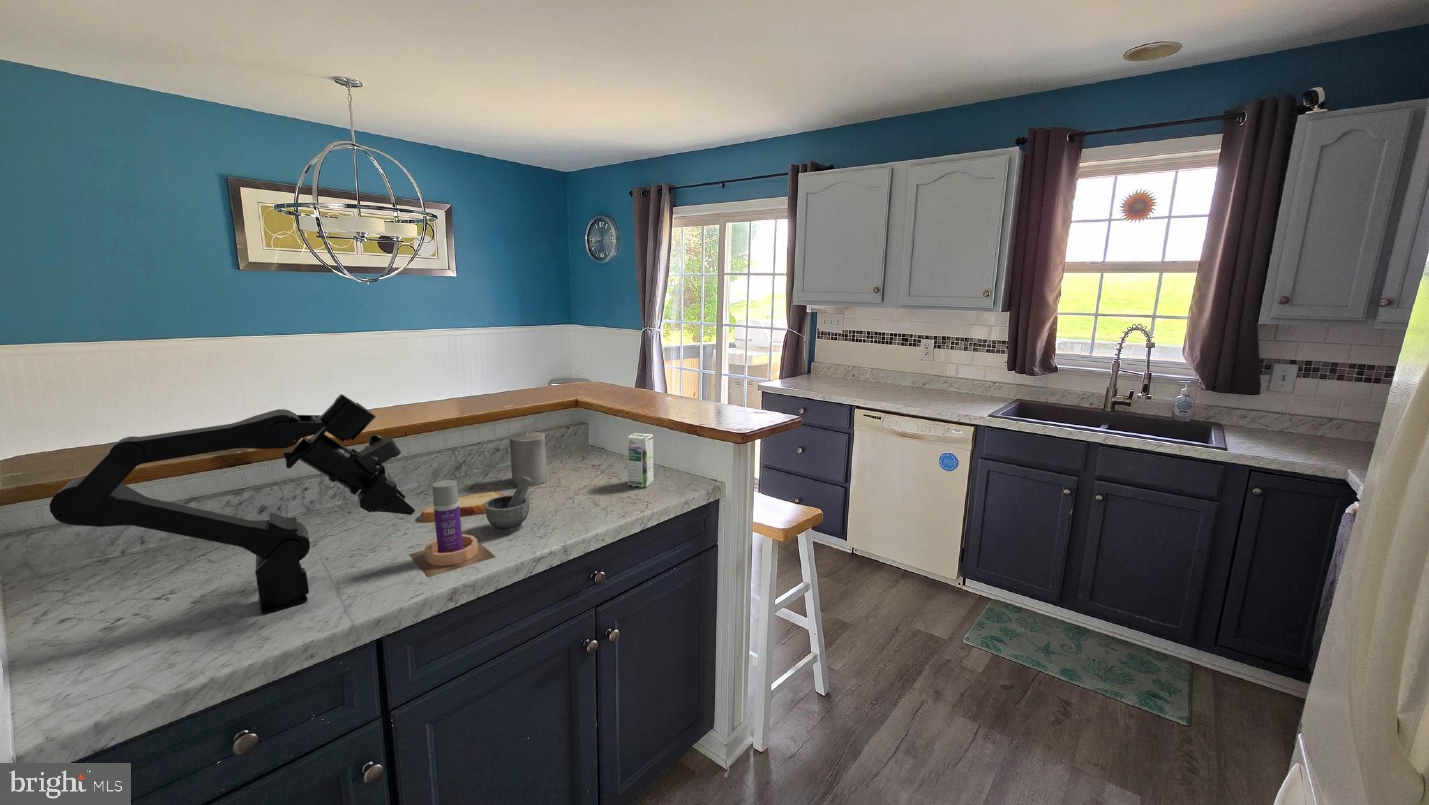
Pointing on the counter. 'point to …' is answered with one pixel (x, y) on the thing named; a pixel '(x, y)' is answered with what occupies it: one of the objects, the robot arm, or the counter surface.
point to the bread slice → (464, 506)
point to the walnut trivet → (435, 570)
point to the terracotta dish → (452, 557)
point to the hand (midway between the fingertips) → (408, 505)
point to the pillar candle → (528, 457)
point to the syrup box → (640, 459)
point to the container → (447, 516)
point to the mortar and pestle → (509, 509)
